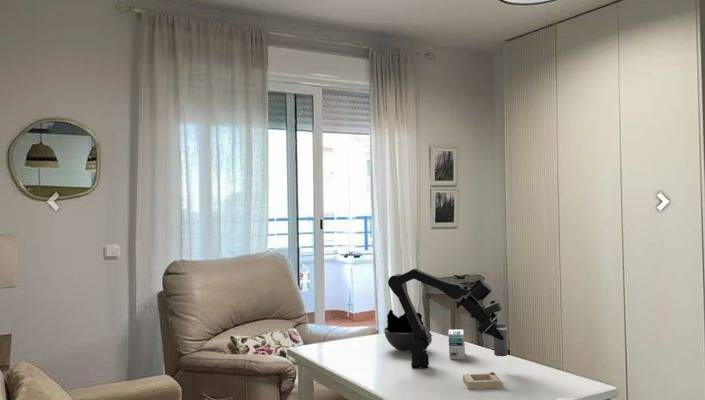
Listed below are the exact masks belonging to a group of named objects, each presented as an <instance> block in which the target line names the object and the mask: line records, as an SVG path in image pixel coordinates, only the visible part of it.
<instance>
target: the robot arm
mask: <svg viewBox="0 0 705 400" xmlns="http://www.w3.org/2000/svg"><path fill="white" fill-rule="evenodd" d="M412 280H416V281H418V282H421V283H423V284H426V285H428V286H430V287H432V288H435V289H438V290H439V291H441V292H442V293H444V294H445V295H447V296H448V297H450V298H451V299H453V300H455V304H456V309H459V308H460V307H462V308H463V309H464V310H466V312H467V313H468V314H469V316H470V318H471V319H474V320H475V321H476V322H477V323H478V326H477V332H479V333H480V334H481V335H482V334H486V335H488V336H490V337H493V338H494V337H495V338H498V339H500V340H503V339H504V337H503V336H502V335H501V333H500V332H499V331H498V329H497V328H496V324H495V323H499V318H498V313H497V312H500V311H502V309H503V307H502V306H501V303H500V302H499V301H496V300H494V299H492V300H491V301H490V302H489V304H488V305H486V306H485V305H484V304H480V302H479V301H484V300H485V299H487V297H488V296H489V295H490V294H491V293H492V292H493V289H492V287H491V286H490V285H489V284H488V283H486V282H484V281H483V280H482V279H481V278H479V279H478V280H476V281H475V283H474V284H473V285H472V286H471V287H470V286H464V284H462V283H460V282H456V281H450V280H444V279H442V278H439V277H437V276H434V275H432V274H430V273H427V272H425V271H422V270H419V268H413V269H410V270H409V271H407V272H405V273H404V272H403V274H401V273H397V274H393V275H392V276H389V278H388V280H387V285H388V287H389V288H390V290H391V291H392V293H393V294H394V295H395V297H396V298H398V300H399V302H400V305H401V307H402V309H403V311H404V313H405V314H406V316H407V319H408V321H409V323H410V325H411V328H412V331H413V339H414V342H415V343H414V344H413V345H412V346H411V347H410V351H409V352H410V355H411V356H410V357H411V363H410V365H411V369H428V368H429V365H430V363H429V362H430V361H429V354H428V351H427V350H428V347H429V346H430V345H431V344H432V341H433V338H432V337H433V334H432V333H431V331H430V328H429V326H425V325H424V324H423V325H422V324H421V322H420V319H419V317H418V315H417V313H418V312H417V311H416V308H415V306H414V304H413V301H412V300H411V298H410V295H409V293H408V286H407V283H408V282H410V281H412ZM469 293H470V294H469ZM468 294H469V295H468ZM467 295H468V296H467ZM462 296H463V297H462ZM460 298H461V299H460ZM416 312H417V313H416ZM425 327H426V328H425Z"/></svg>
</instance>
